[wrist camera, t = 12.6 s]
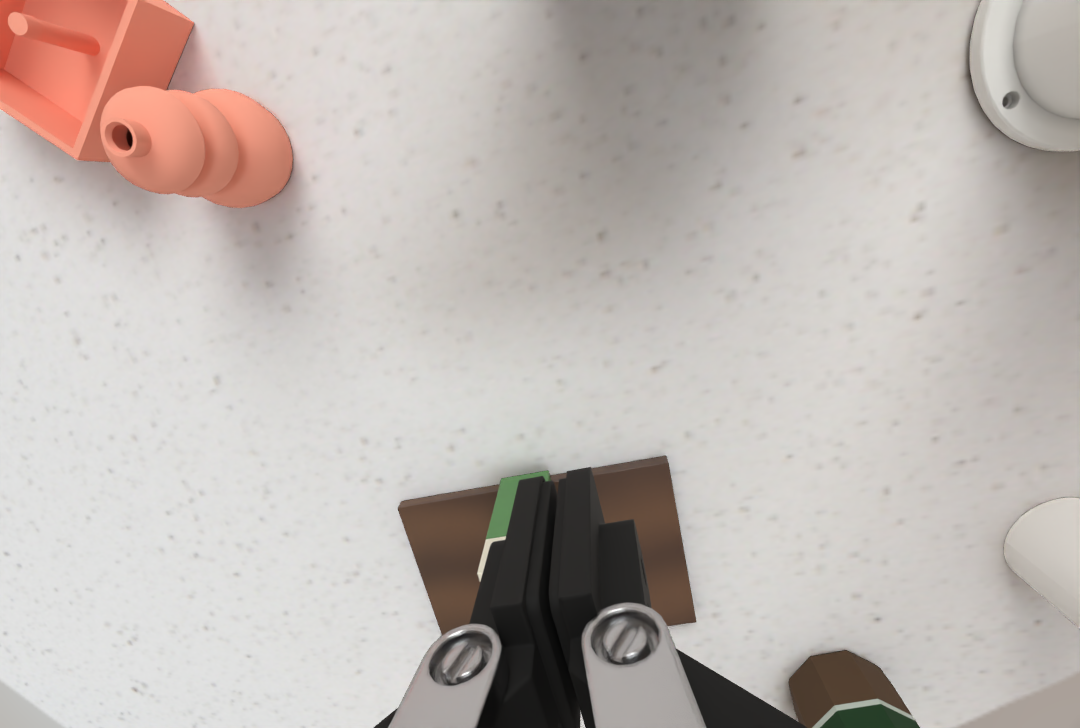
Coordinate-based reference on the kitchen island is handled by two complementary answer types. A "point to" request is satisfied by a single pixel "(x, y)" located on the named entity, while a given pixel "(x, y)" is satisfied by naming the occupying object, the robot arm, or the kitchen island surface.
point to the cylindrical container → (1049, 553)
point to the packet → (503, 512)
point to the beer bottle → (846, 694)
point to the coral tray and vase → (135, 100)
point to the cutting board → (624, 493)
